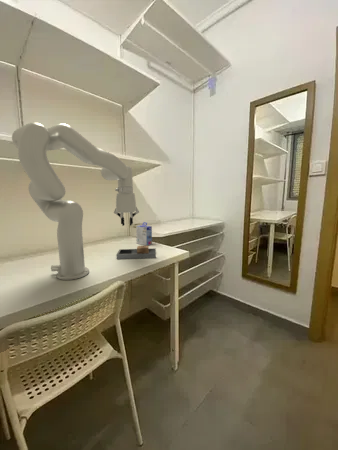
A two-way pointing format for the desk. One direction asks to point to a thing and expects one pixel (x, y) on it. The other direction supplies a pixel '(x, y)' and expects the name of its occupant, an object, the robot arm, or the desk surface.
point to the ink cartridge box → (144, 234)
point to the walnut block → (142, 249)
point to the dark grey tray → (135, 254)
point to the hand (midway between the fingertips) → (127, 225)
